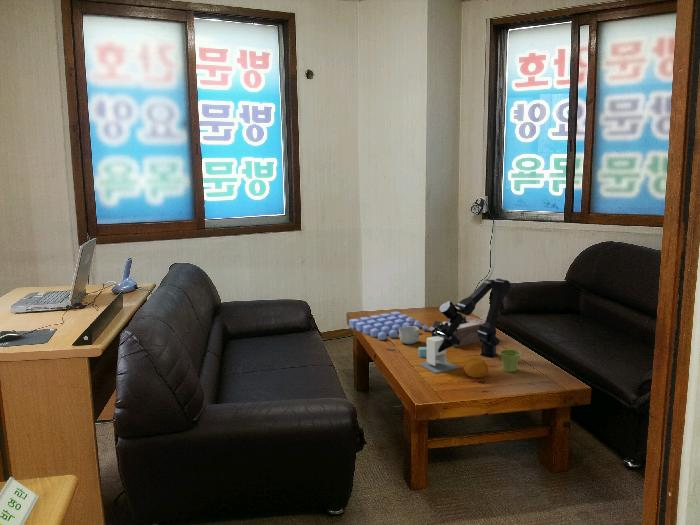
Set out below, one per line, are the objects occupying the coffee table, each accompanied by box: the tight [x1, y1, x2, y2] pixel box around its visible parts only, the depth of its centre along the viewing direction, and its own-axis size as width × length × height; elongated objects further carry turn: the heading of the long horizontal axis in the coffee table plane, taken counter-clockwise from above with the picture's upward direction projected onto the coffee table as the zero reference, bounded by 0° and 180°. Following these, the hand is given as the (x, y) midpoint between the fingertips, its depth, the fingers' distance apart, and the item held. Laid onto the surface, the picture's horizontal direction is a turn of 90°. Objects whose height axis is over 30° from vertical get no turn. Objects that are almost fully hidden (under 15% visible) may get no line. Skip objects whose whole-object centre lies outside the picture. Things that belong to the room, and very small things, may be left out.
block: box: [418, 346, 427, 358], centre depth 296 cm, size 4×4×4 cm
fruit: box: [463, 358, 489, 379], centre depth 267 cm, size 10×10×8 cm
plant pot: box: [499, 348, 522, 373], centre depth 274 cm, size 9×9×9 cm
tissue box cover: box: [438, 316, 486, 348], centre depth 320 cm, size 26×14×10 cm, turn 122°
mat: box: [418, 360, 461, 374], centre depth 280 cm, size 14×14×1 cm
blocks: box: [348, 311, 430, 341], centre depth 344 cm, size 35×34×5 cm
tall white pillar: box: [426, 336, 447, 366], centre depth 279 cm, size 7×7×12 cm
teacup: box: [398, 325, 420, 345], centre depth 318 cm, size 14×11×8 cm
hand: (433, 350), depth 278 cm, fingers closed on tall white pillar, 6 cm apart
